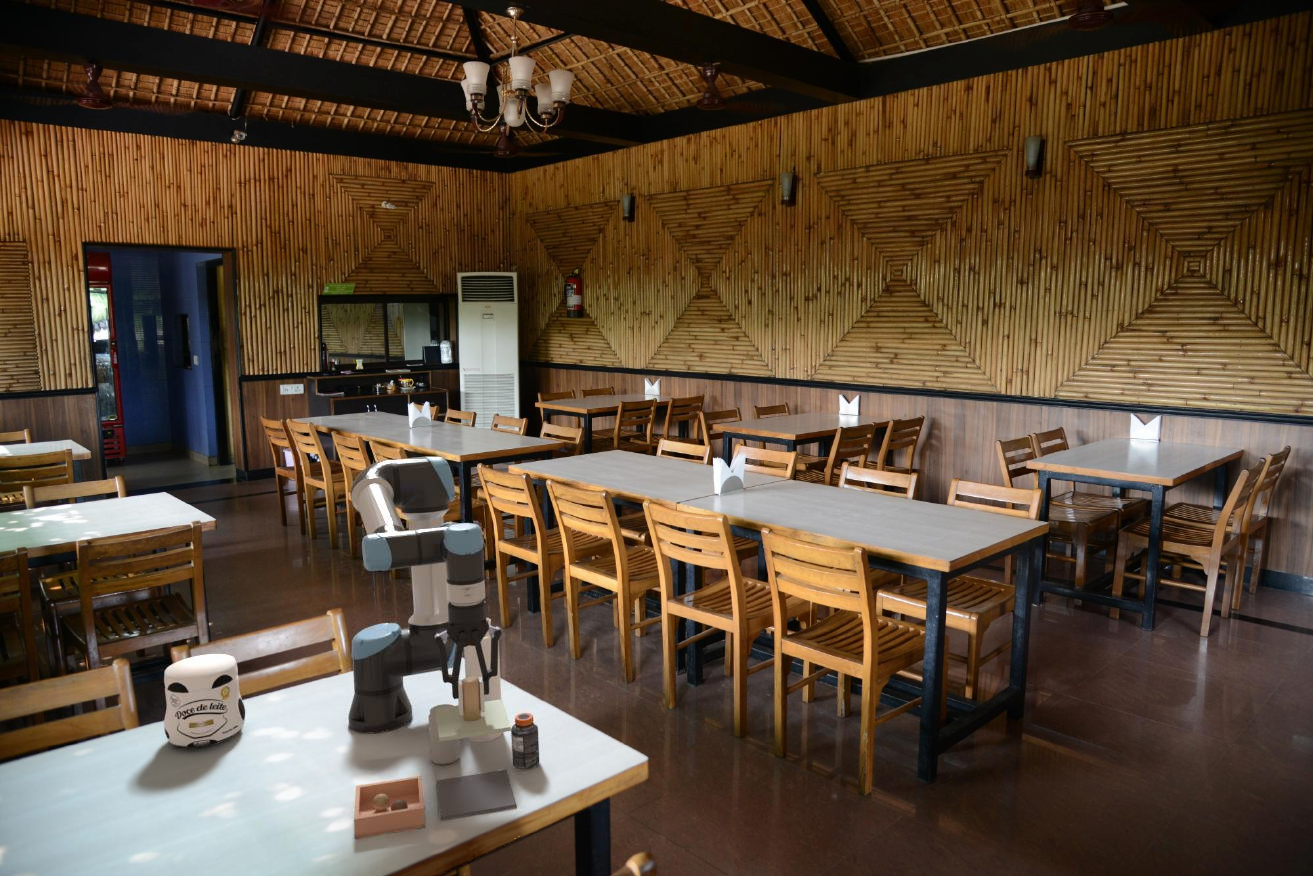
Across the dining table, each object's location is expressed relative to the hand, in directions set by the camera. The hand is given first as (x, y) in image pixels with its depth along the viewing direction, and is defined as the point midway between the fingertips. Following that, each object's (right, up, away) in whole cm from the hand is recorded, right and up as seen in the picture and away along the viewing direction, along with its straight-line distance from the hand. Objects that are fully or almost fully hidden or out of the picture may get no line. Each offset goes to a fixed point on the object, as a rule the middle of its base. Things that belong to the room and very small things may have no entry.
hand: (471, 710), depth 182 cm
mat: (0, -18, +2) cm, 18 cm away
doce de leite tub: (-70, -16, +31) cm, 78 cm away
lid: (0, -2, 0) cm, 2 cm away
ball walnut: (-13, -17, -6) cm, 23 cm away
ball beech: (-17, -17, -4) cm, 25 cm away
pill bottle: (+9, -17, +15) cm, 24 cm away
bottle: (-3, -15, +30) cm, 34 cm away
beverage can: (-10, -17, +18) cm, 26 cm away
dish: (-15, -19, -5) cm, 25 cm away
